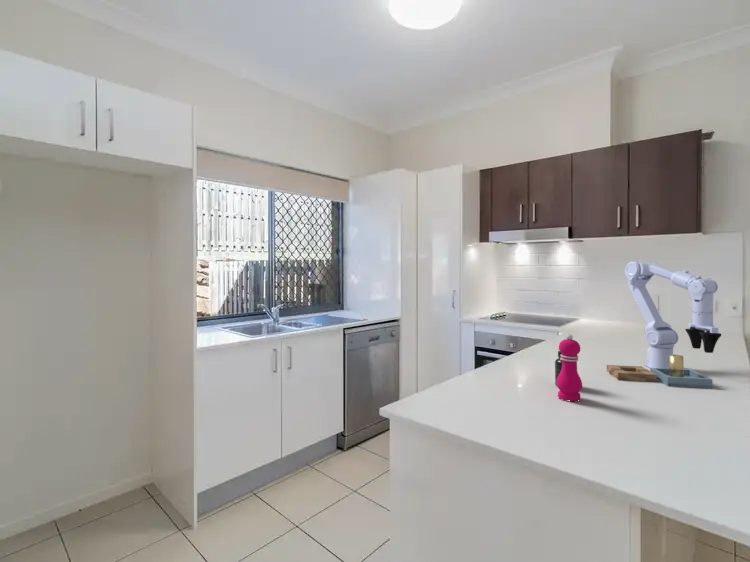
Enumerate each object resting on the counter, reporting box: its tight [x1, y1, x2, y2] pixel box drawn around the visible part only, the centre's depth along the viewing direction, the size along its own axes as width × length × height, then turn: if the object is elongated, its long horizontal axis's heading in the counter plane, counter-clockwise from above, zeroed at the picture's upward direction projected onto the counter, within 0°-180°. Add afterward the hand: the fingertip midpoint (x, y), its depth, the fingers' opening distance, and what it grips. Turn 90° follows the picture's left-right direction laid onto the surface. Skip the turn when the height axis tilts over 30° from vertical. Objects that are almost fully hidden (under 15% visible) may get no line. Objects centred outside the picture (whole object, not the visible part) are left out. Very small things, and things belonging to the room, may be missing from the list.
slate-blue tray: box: [649, 368, 713, 389], centre depth 139 cm, size 13×13×3 cm
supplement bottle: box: [554, 350, 562, 387], centre depth 134 cm, size 7×7×12 cm
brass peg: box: [669, 354, 685, 377], centre depth 139 cm, size 4×4×8 cm
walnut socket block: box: [606, 364, 657, 383], centre depth 146 cm, size 12×12×2 cm
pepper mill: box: [555, 333, 583, 402], centre depth 122 cm, size 7×7×20 cm
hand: (702, 350), depth 141 cm, fingers open, 7 cm apart
